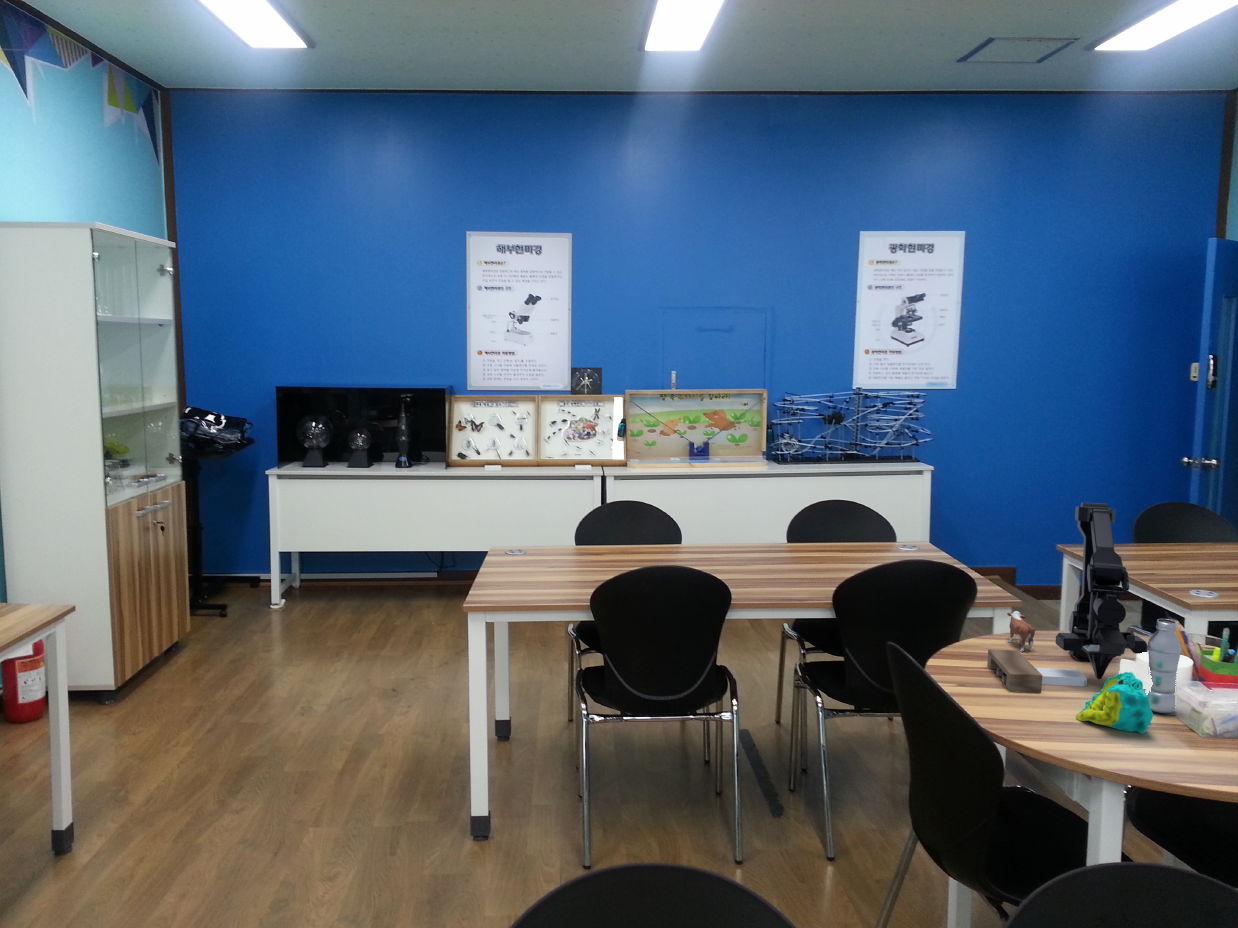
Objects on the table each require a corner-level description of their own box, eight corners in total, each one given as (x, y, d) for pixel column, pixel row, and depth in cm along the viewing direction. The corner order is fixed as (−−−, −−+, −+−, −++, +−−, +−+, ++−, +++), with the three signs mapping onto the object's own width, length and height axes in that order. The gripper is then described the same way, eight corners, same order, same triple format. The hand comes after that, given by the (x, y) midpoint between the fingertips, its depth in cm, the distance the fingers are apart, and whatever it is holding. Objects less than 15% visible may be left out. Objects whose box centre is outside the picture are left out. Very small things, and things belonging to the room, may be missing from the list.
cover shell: (1076, 677, 226) (1077, 669, 226) (1086, 686, 220) (1087, 678, 220) (1028, 675, 227) (1029, 667, 227) (1037, 684, 221) (1037, 675, 221)
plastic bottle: (1144, 714, 203) (1151, 623, 201) (1140, 703, 210) (1147, 615, 207) (1179, 718, 201) (1186, 627, 199) (1173, 707, 207) (1181, 618, 205)
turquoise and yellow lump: (1059, 690, 198) (1084, 650, 205) (1079, 735, 201) (1102, 694, 208) (1134, 697, 186) (1157, 655, 193) (1153, 745, 189) (1175, 702, 196)
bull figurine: (1019, 638, 257) (1021, 609, 256) (1036, 654, 244) (1038, 623, 243) (1003, 638, 257) (1004, 608, 256) (1018, 653, 244) (1020, 622, 243)
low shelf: (1016, 667, 233) (1017, 650, 233) (1041, 692, 215) (1042, 675, 215) (987, 665, 234) (988, 649, 233) (1009, 691, 216) (1010, 673, 216)
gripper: (1074, 621, 214) (1070, 688, 215) (1161, 625, 212) (1156, 692, 214) (1056, 608, 225) (1052, 672, 226) (1139, 611, 223) (1134, 675, 225)
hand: (1098, 678), depth 223 cm, fingers closed
